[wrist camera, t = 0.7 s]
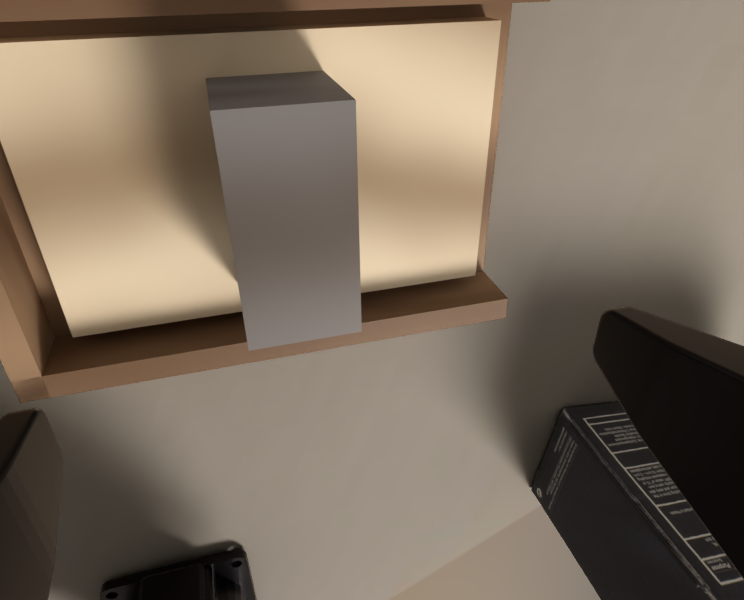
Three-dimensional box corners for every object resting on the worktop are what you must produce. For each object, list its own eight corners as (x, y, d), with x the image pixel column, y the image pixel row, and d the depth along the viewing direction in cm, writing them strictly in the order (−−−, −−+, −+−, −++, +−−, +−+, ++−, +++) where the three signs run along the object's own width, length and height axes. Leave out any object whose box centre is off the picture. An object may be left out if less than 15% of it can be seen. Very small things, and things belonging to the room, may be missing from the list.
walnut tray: (470, 276, 22) (505, 317, 20) (42, 343, 19) (20, 402, 16) (499, -38, 16) (555, -36, 14) (-107, -26, 13) (-177, -20, 10)
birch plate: (464, 262, 20) (524, 331, 17) (78, 319, 17) (48, 418, 14) (485, 16, 16) (573, 36, 12) (-21, 39, 13) (-103, 72, 9)
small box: (524, 494, 31) (652, 702, 22) (557, 404, 28) (723, 608, 19) (676, 470, 34) (840, 645, 25) (722, 387, 31) (928, 555, 22)
